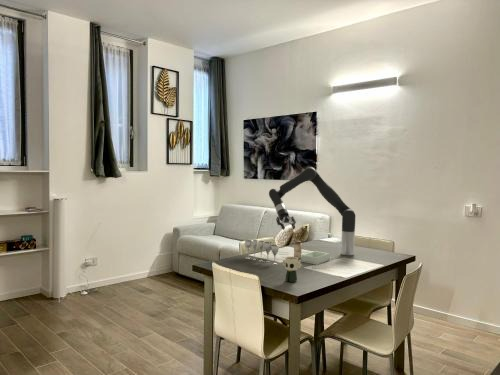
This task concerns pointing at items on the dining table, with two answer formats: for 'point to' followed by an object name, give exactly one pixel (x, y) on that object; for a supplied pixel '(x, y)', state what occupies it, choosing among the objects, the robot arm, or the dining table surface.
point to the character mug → (291, 268)
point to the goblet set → (261, 248)
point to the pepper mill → (297, 249)
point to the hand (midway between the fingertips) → (289, 228)
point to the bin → (315, 257)
